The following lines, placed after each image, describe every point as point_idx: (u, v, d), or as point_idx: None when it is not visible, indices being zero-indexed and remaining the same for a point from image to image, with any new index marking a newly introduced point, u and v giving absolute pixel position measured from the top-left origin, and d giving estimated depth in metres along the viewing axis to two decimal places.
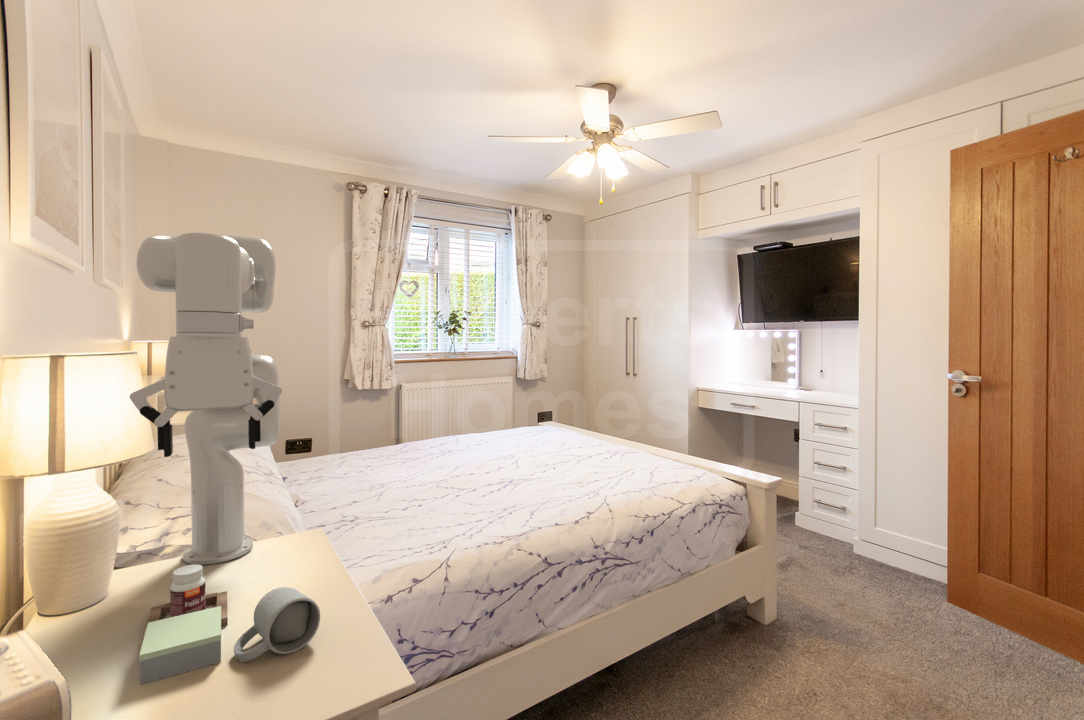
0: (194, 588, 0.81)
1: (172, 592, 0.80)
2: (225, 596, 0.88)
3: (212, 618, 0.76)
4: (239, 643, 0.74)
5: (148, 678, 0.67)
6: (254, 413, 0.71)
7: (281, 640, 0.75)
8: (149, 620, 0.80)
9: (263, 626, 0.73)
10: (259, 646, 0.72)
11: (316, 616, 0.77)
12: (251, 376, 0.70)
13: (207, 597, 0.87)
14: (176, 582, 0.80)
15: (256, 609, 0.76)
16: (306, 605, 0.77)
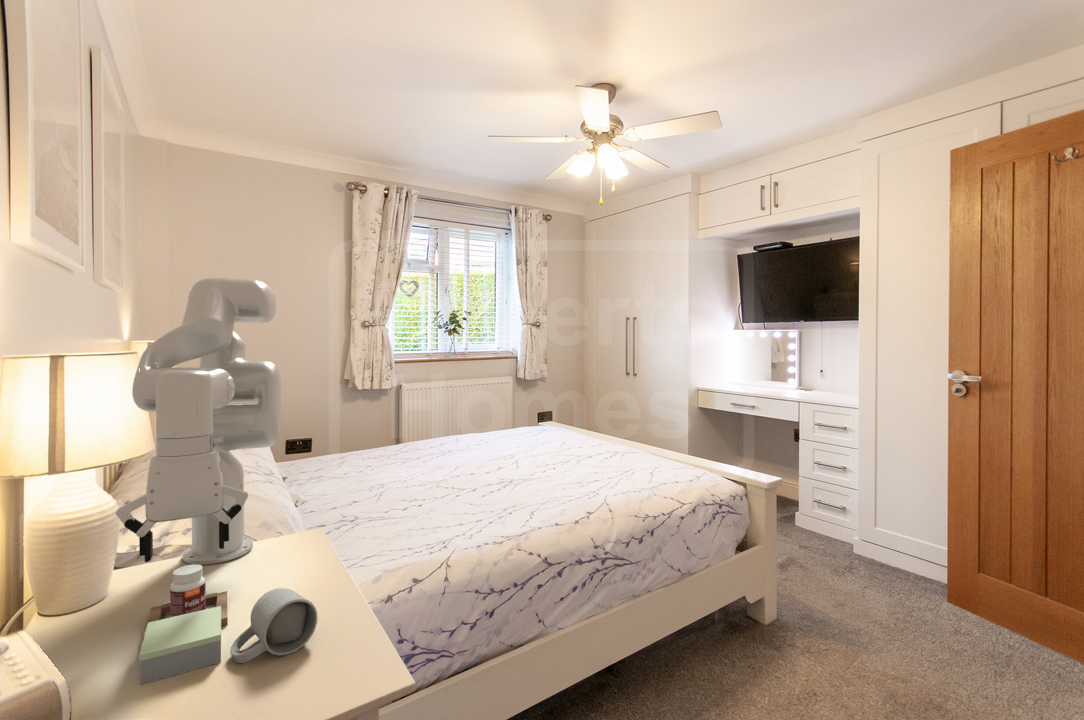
0: (194, 588, 0.81)
1: (172, 592, 0.80)
2: (225, 596, 0.88)
3: (212, 618, 0.76)
4: (236, 644, 0.74)
5: (148, 678, 0.67)
6: (223, 518, 0.83)
7: (278, 641, 0.74)
8: (149, 620, 0.80)
9: (260, 627, 0.73)
10: (255, 647, 0.71)
11: (313, 617, 0.77)
12: (220, 487, 0.82)
13: (207, 597, 0.87)
14: (176, 582, 0.80)
15: (253, 610, 0.76)
16: (303, 606, 0.77)
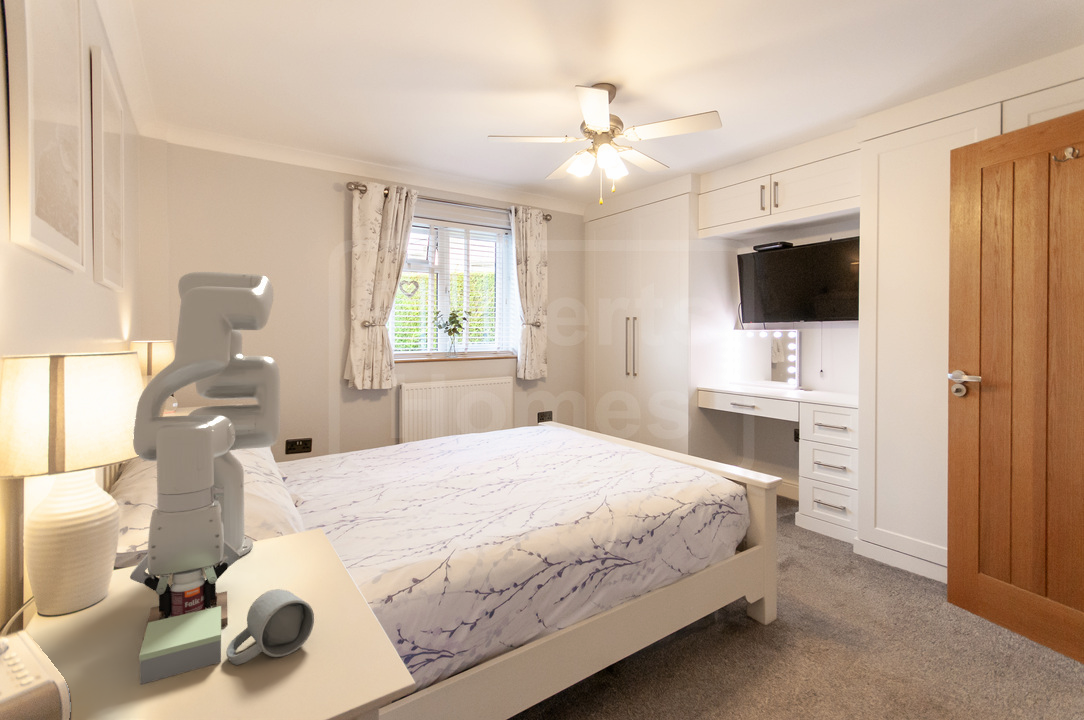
0: (194, 588, 0.81)
1: (172, 592, 0.80)
2: (225, 596, 0.88)
3: (212, 618, 0.76)
4: (232, 646, 0.73)
5: (148, 678, 0.67)
6: (211, 576, 0.83)
7: (274, 643, 0.74)
8: (149, 620, 0.80)
9: (256, 629, 0.72)
10: (251, 648, 0.71)
11: (310, 618, 0.77)
12: (222, 538, 0.83)
13: None
14: (176, 582, 0.80)
15: (249, 611, 0.76)
16: (300, 607, 0.77)
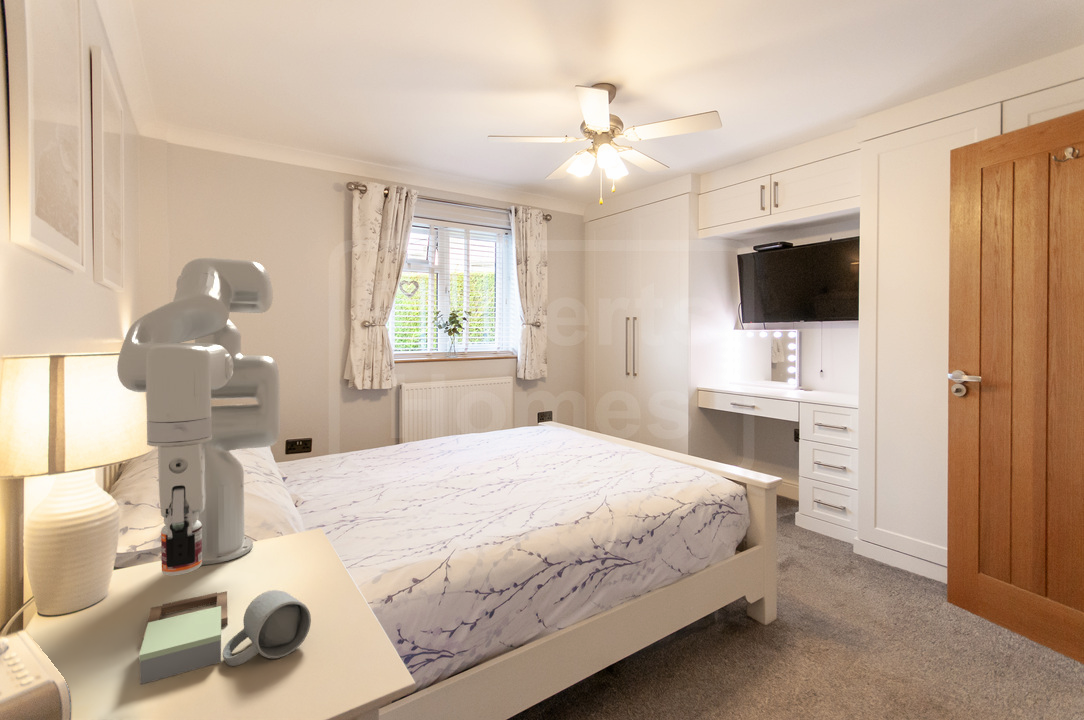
0: (162, 533, 0.70)
1: None
2: (225, 596, 0.88)
3: (212, 618, 0.76)
4: (228, 647, 0.73)
5: (148, 678, 0.67)
6: None
7: (271, 644, 0.74)
8: (149, 620, 0.80)
9: (252, 630, 0.72)
10: (248, 650, 0.71)
11: (307, 620, 0.76)
12: (162, 489, 0.67)
13: (207, 597, 0.87)
14: None
15: (246, 612, 0.75)
16: (296, 608, 0.76)
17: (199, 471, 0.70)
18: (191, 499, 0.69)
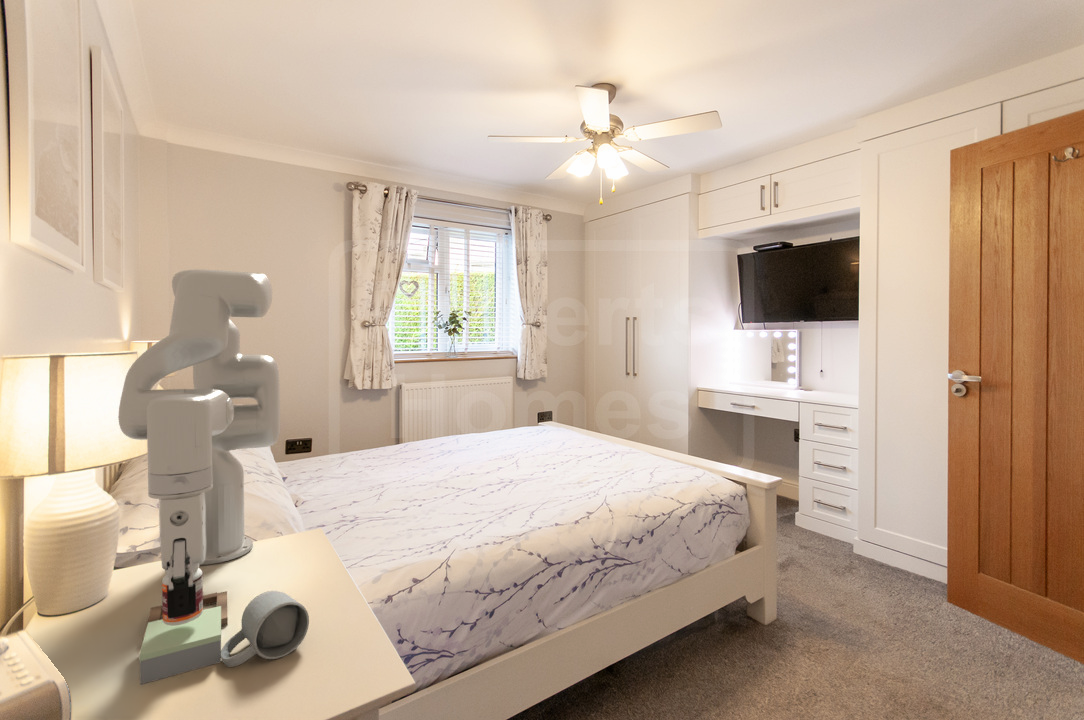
0: (163, 584, 0.71)
1: None
2: (225, 596, 0.88)
3: (212, 618, 0.76)
4: (226, 648, 0.73)
5: (148, 678, 0.67)
6: None
7: (269, 645, 0.74)
8: (149, 620, 0.80)
9: (250, 631, 0.72)
10: (246, 651, 0.70)
11: (305, 620, 0.76)
12: (163, 542, 0.68)
13: (207, 597, 0.87)
14: None
15: (244, 613, 0.75)
16: (295, 609, 0.76)
17: (200, 522, 0.70)
18: (192, 551, 0.69)
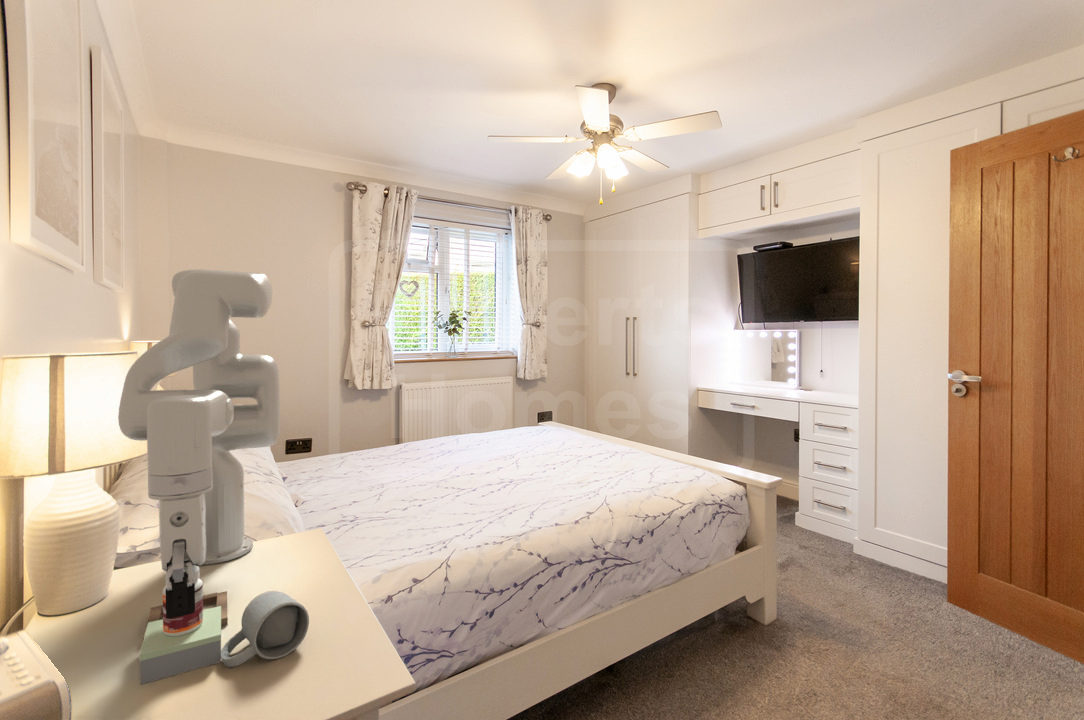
0: (163, 595, 0.71)
1: None
2: (225, 596, 0.88)
3: (212, 618, 0.76)
4: (226, 648, 0.73)
5: (148, 678, 0.67)
6: None
7: (269, 645, 0.74)
8: (149, 620, 0.80)
9: (250, 631, 0.72)
10: (245, 651, 0.70)
11: (305, 621, 0.76)
12: (163, 543, 0.68)
13: (207, 597, 0.87)
14: None
15: (244, 613, 0.75)
16: (295, 609, 0.76)
17: (200, 523, 0.70)
18: (192, 552, 0.69)
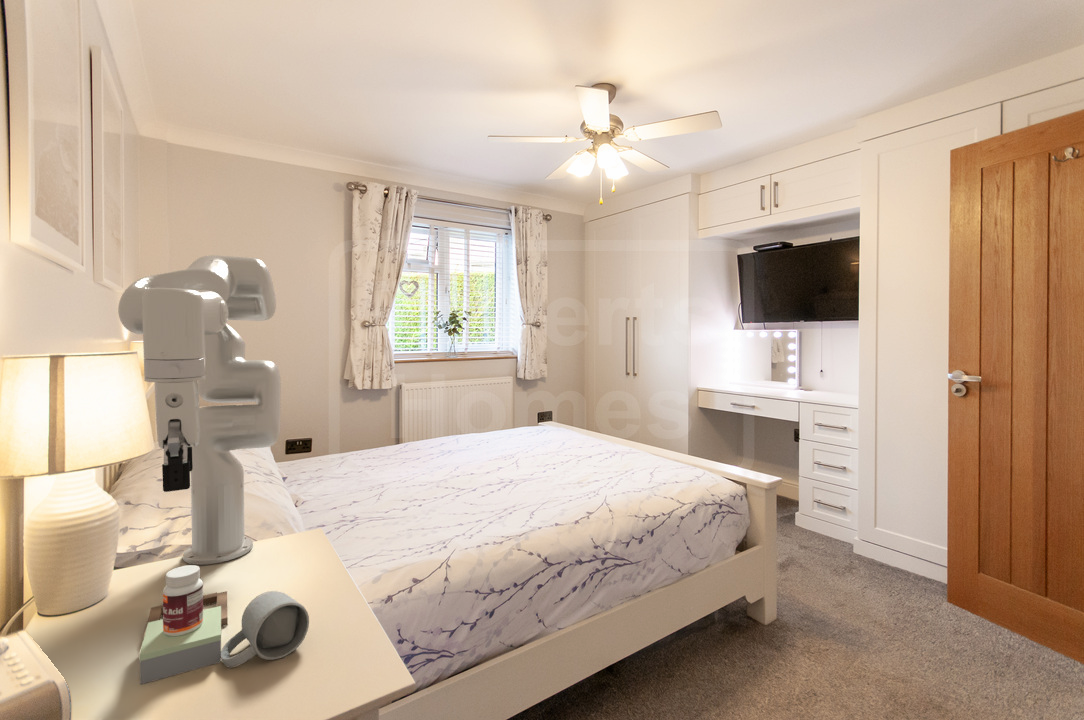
0: (163, 594, 0.71)
1: None
2: (225, 596, 0.88)
3: (212, 618, 0.76)
4: (226, 648, 0.73)
5: (148, 678, 0.67)
6: None
7: (269, 645, 0.73)
8: (149, 620, 0.80)
9: (250, 631, 0.72)
10: (245, 651, 0.70)
11: (305, 621, 0.76)
12: (160, 421, 0.72)
13: (207, 597, 0.87)
14: None
15: (244, 613, 0.75)
16: (295, 610, 0.76)
17: (194, 406, 0.74)
18: (187, 432, 0.74)
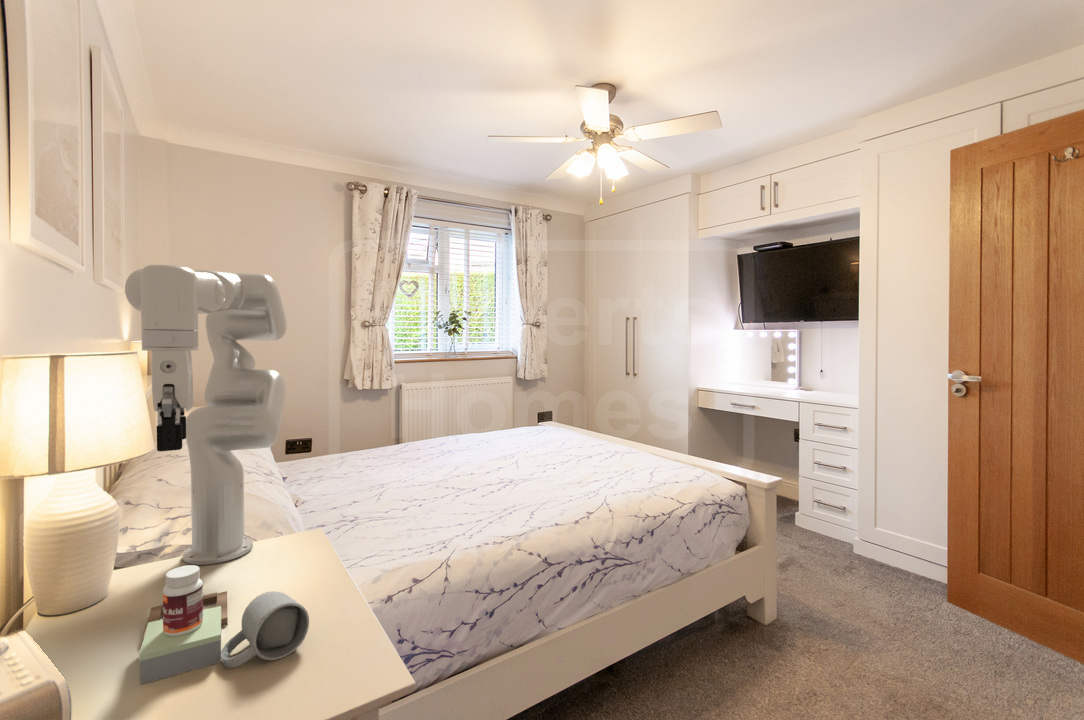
0: (163, 595, 0.71)
1: None
2: (225, 596, 0.88)
3: (212, 618, 0.76)
4: (226, 648, 0.73)
5: (148, 678, 0.67)
6: None
7: (269, 646, 0.73)
8: (149, 620, 0.80)
9: (250, 631, 0.71)
10: (245, 652, 0.70)
11: (305, 621, 0.76)
12: (155, 385, 0.78)
13: (207, 597, 0.87)
14: None
15: (244, 614, 0.75)
16: (295, 610, 0.76)
17: (186, 373, 0.81)
18: (179, 396, 0.80)
